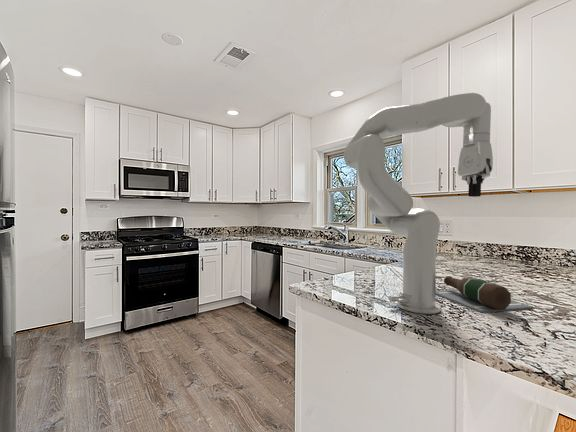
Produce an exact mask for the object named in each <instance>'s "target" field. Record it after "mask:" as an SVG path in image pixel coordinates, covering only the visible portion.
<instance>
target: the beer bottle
mask: <svg viewBox="0 0 576 432" xmlns="http://www.w3.org/2000/svg"><path fill="white" fill-rule="evenodd" d="M443 282H444V284H445V285H446V286H447V287H448V286H449V287H452V288H454V289H455V290H458V291H459V292H460V293H461V294H462V295H463V296H464V297H465V298H467V299H469V300H471V301H474V302H476V303H479V304H481V305H484V306H486V307H489V308H491V309H495V310H504V309H506V308H507V307H508V306H509V304H510V303H511V300H512V293H511V292H510V291H509V290H508V289H507V288H506V287H505V286H504V285H501V284H496V283H494V282H490V281H487V280H483V279H479V278H475V277H464V278H461V279H460V278H456V277H453V276H445V277H444V278H443Z"/></svg>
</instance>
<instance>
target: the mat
mask: <svg viewBox="0 0 576 432" xmlns="http://www.w3.org/2000/svg"><path fill="white" fill-rule="evenodd" d="M435 296H439V297H441V298H443V299H446V300H449V301H450V302H453V303H456V304H458V305H461V306H463V307H465V308H468V309H470V310H474V311H476V312H479V313H480V314H481V313H493V312H505V311H507V312H508V311H509V312H510V311H521V310H532V309H534V306H532V305H530V304H525V303H523V302H519V301H515V300H513V299H511V303H510V304H509V306H508V307H507V308H506V309H504V310H495V309H491V308H489V307H486V306H484V305H481V304H479V303H476V302H474V301H471V300H469V299H467V298H465V297H464V296H463V295H462V294H461V293H460V292H459V291H458V289H443V290H441V289H440V290H435Z"/></svg>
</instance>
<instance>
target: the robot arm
mask: <svg viewBox="0 0 576 432" xmlns="http://www.w3.org/2000/svg"><path fill="white" fill-rule="evenodd" d="M491 107H492V105H491V104H490V103H489V102H487V100H486V98H485V97H484V96H483V95H482V94H480V93H478V92H477V93H475V92H470V93H469V92H468V93H460V94H454V95H449V96H445V97H442V98H438V99H433V100H429V101H425V102H422V103H415V104H406V105H397V106H389V107H385V108H383V109H381V110H379V111H377V112H375V113H374V114H373V115H371V116H370V117H368V118H367V119H366V120H365V121H364V122H363V124H362V125H361V127H360V128H359V129H358V131H357V132H356V133H355V135H354V136H353V138H352V139H351V140H350V142H348V144H347V145H346V147H345V149H344V152H343V161H344V162H345V164H346V165H347V166H348V167H349V168H352V169H357V173H358V174H357V175H358V180H359V183H360V185H361V186H362V188H363V190H364V191H365V192H366V193H367V194H368V196H369V197H368V203H367V204H368V208H369V211H370V212H371V214H372V215H373V216H374V217H375V218H376V219H377V220H378V221H380V222H381V224H383V225H384V226H385V227H386V228H387V229H388V230H389V231H390V232H392V233H393V234H394V235H396V236H398V237H399V236H400V237H404V238H406V239H405V242H404V245H403V250H402V291H399V294H397V295H389V296H388V301H389V302H390V303H393V302H394V303H395V302H397V306H398V307H399V309H402V310H404V311H407V312H410V313H416V314H421V315H422V314H424V315H431V314H432V315H433V314H438V313H440V312H441V310H442V307H441V305H440V304H439V303H436V294H435V291H437V290H436V288H437V287H436V285H437V284H436V280H437V279H436V278H437V274H436V273H437V243H438V238H439V235H440V234H439V233H440V230H441V229H440V228H441V221H440V218H439V217H438V215H437V214H436V213H435V212H434V211H433V210H430V209H426V208H414V200H413V197H412V196H411V194H410V193H409V192H408V191H407V190H406V189H405V187H403V186H402V185H401V184H400V183H399V182H398V181H397V180H396V179H395V178H394V177H393V176H391V174H390V173H389V171H387V168H386V164H385V155H386V146H385V145H386V144H385V142H384V139H386V138H388V137H392V136H399V135H405V134H412V133H419V132H423V131H428V130H430V129H433V128H436V127H440V126H441V125H442V126H443V127H446V128H457V127H458V128H459V127H460V128H461V127H462V128H463V129H462V130H463V131H462V132H463V135H462V136H463V137H462V147H461V148H460V152H459V158H458V165H457V166H458V167H457V168H458V169H457V175H458V177H461V181H465V182H466V184H467V185H468V192H467V193H468V197H473V198H474V197H475V198H476V197H477V198H478V197H481V195H482V193H481V191H482V185H483V183H484V181H485V179H487V178H488V177H490V176H491V173H492V171H493V166H494V165H493V162H494V161H493V160H494V159H493V158H494V157H493V148H492V144H491V120H492V108H491Z"/></svg>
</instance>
